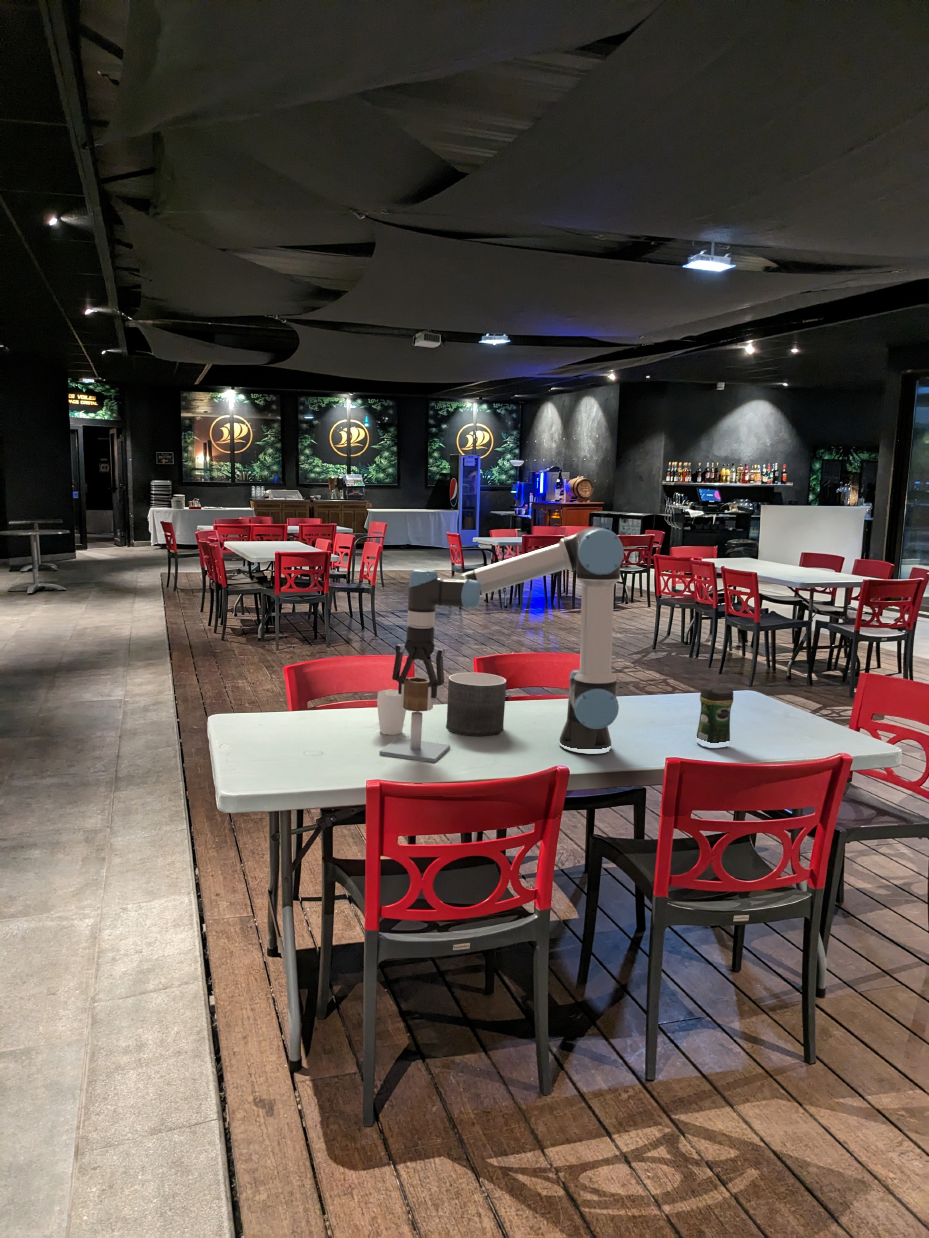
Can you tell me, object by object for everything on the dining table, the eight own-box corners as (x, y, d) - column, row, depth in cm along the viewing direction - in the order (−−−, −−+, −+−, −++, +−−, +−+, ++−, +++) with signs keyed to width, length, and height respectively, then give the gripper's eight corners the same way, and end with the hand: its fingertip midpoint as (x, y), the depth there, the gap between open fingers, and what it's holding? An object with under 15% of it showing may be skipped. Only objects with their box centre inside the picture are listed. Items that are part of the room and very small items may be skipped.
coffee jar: (717, 740, 264) (723, 682, 262) (733, 748, 257) (739, 688, 254) (690, 742, 261) (696, 683, 258) (706, 750, 254) (712, 689, 251)
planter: (437, 731, 260) (439, 680, 257) (459, 717, 276) (461, 670, 274) (491, 740, 253) (494, 688, 251) (511, 725, 270) (514, 677, 267)
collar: (432, 706, 239) (434, 678, 238) (424, 712, 232) (426, 684, 231) (409, 703, 241) (410, 676, 240) (400, 709, 234) (401, 681, 233)
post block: (450, 748, 243) (451, 710, 241) (434, 762, 230) (436, 722, 228) (397, 740, 247) (398, 704, 246) (379, 754, 234) (380, 715, 232)
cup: (401, 737, 251) (403, 697, 249) (372, 734, 253) (373, 694, 251) (409, 729, 260) (411, 690, 258) (381, 726, 262) (382, 688, 260)
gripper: (459, 627, 234) (455, 708, 238) (391, 620, 239) (388, 700, 243) (451, 631, 227) (447, 715, 230) (381, 624, 232) (378, 706, 236)
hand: (416, 707), depth 237 cm, fingers closed on collar, 7 cm apart
